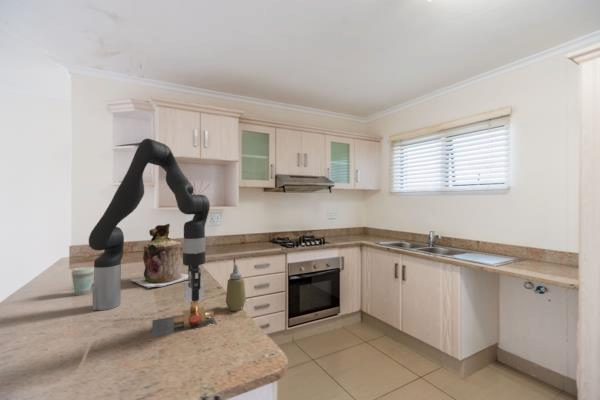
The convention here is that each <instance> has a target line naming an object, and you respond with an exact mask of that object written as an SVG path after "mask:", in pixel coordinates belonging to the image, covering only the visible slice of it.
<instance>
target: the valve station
mask: <svg viewBox="0 0 600 400" xmlns="http://www.w3.org/2000/svg"><path fill="white" fill-rule="evenodd" d="M189 304H190V305H189V306H190V309H185V310H184V309H183V310H182V314H181V315H175V316H169V317H163V318H159V319H158V318H157V319H153V320H152V331H151V332H152V333H151V334H152V335H151V337H152V338H157V337H160V336H166V335H171V334H175V333H181V332H186V331H191V330H195V329H200V328H205V327H210V326H215V325H218V323H217V321H216V319H215V317H214V315H215V314H214V310H211V309H208V310H205V308H204V307H198V306H199V300H198V301H192V302H189Z"/></svg>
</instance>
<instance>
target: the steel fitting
mask: <svg viewBox="0 0 600 400" xmlns="http://www.w3.org/2000/svg"><path fill="white" fill-rule="evenodd" d="M183 284H184V286H183V289H184V290H183V292H184V293H183V297H184V300H185V303H190V302H192V290H191V288H192V286H191V284H190V282H189V281H188V282H184V283H183ZM194 286H198V285H197V283H195V284H194ZM200 287H201V288H200V289H199V300H198V301H203V300H205V284H204V282H203V280H201V281H200Z"/></svg>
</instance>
